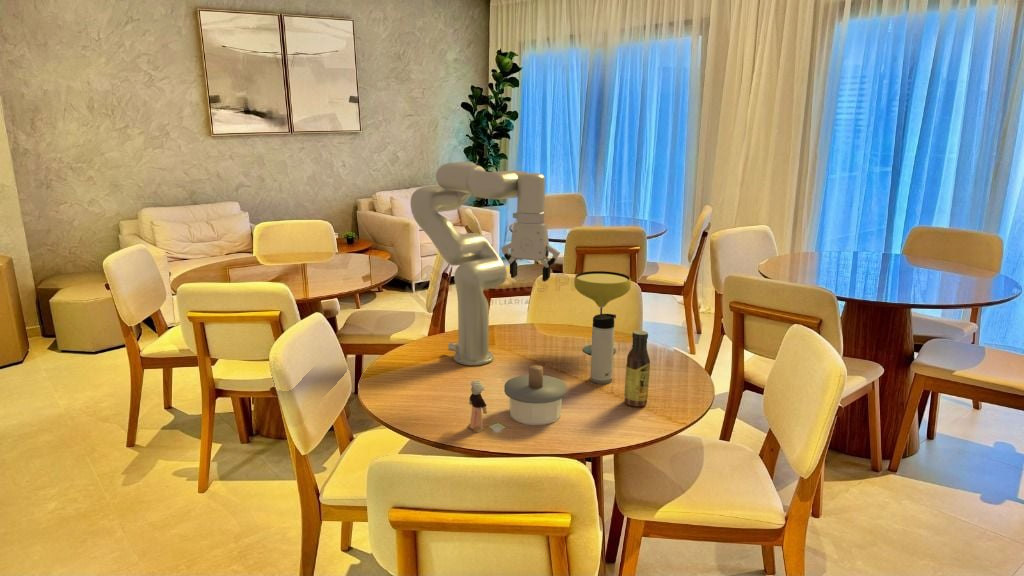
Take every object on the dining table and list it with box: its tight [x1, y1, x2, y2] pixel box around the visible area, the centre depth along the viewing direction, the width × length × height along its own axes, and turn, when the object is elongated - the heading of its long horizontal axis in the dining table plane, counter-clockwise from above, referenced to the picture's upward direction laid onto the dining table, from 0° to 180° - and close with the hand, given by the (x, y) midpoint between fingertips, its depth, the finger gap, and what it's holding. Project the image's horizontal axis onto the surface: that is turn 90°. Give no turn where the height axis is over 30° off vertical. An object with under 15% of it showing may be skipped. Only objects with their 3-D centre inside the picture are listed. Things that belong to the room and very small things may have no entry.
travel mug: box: [590, 313, 617, 385], centre depth 192 cm, size 6×7×20 cm
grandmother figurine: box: [467, 379, 488, 433], centre depth 162 cm, size 8×4×13 cm, turn 45°
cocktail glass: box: [573, 270, 632, 356], centre depth 217 cm, size 18×18×25 cm
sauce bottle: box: [624, 330, 651, 408], centre depth 177 cm, size 6×6×20 cm
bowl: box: [509, 397, 563, 426], centre depth 171 cm, size 13×13×6 cm
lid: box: [503, 364, 568, 403], centre depth 169 cm, size 16×16×6 cm
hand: (529, 278), depth 188 cm, fingers open, 9 cm apart
